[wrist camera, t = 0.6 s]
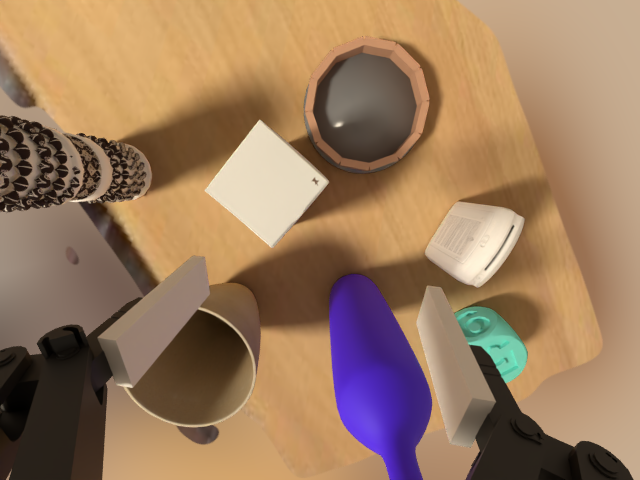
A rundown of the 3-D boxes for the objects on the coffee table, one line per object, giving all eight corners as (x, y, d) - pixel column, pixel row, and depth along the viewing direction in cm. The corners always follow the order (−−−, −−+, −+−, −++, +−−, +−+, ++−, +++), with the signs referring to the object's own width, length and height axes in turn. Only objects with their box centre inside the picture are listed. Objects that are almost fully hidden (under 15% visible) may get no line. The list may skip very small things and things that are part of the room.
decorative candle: (156, 206, 41) (-92, 234, 16) (95, 200, 41) (-245, 220, 16) (154, 143, 39) (-127, 70, 15) (91, 137, 39) (-298, 54, 15)
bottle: (319, 285, 43) (312, 496, 14) (365, 262, 42) (463, 434, 13) (342, 327, 45) (380, 600, 15) (387, 306, 44) (521, 550, 14)
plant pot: (170, 294, 44) (85, 354, 28) (240, 242, 42) (192, 276, 26) (228, 361, 46) (180, 450, 30) (297, 314, 44) (284, 384, 29)
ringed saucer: (286, 72, 37) (283, 63, 34) (404, 25, 36) (411, 11, 33) (327, 189, 40) (327, 189, 37) (437, 150, 39) (446, 147, 36)
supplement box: (283, 141, 39) (260, 114, 24) (329, 183, 40) (333, 181, 25) (245, 188, 40) (200, 190, 26) (290, 228, 41) (272, 250, 27)
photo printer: (442, 267, 42) (490, 299, 30) (419, 255, 42) (457, 283, 30) (478, 209, 41) (545, 219, 28) (454, 196, 40) (511, 200, 28)
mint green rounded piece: (457, 359, 46) (486, 395, 38) (434, 323, 44) (458, 353, 37) (500, 336, 45) (538, 367, 37) (477, 298, 43) (512, 323, 36)
